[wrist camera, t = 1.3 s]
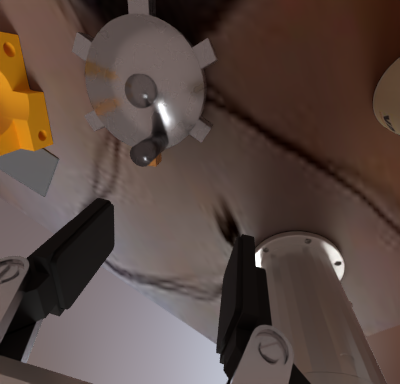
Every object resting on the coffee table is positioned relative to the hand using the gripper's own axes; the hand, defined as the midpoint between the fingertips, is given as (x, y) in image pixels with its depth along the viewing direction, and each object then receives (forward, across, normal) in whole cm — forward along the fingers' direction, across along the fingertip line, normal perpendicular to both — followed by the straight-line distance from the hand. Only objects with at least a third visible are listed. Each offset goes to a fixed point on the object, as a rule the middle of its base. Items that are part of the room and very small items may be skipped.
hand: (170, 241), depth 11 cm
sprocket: (+16, +8, -5) cm, 19 cm away
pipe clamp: (+18, +24, -1) cm, 30 cm away
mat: (+18, +28, +8) cm, 34 cm away
